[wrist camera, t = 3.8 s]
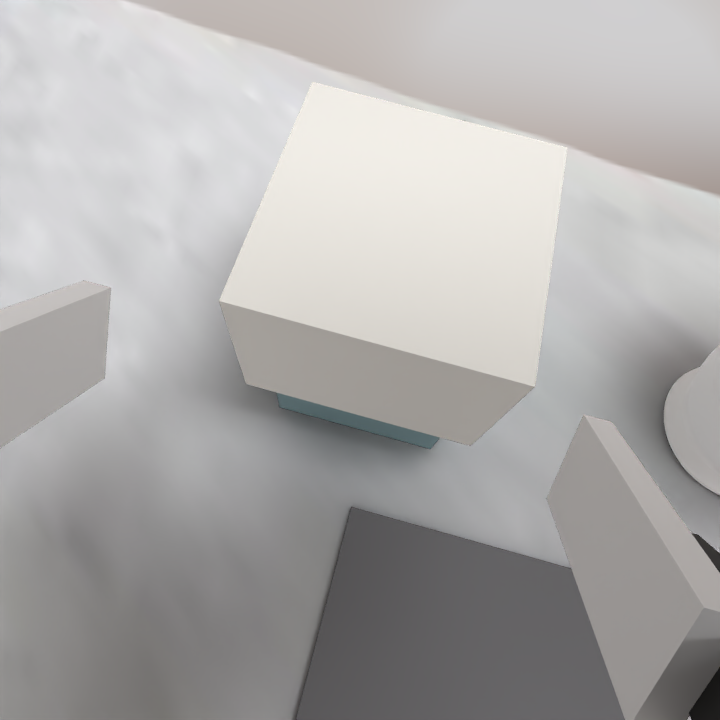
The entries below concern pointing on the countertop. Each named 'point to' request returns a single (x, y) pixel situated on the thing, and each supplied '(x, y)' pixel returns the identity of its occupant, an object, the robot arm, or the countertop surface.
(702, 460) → the jar
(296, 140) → the lid
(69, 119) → the countertop surface
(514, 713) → the mat
